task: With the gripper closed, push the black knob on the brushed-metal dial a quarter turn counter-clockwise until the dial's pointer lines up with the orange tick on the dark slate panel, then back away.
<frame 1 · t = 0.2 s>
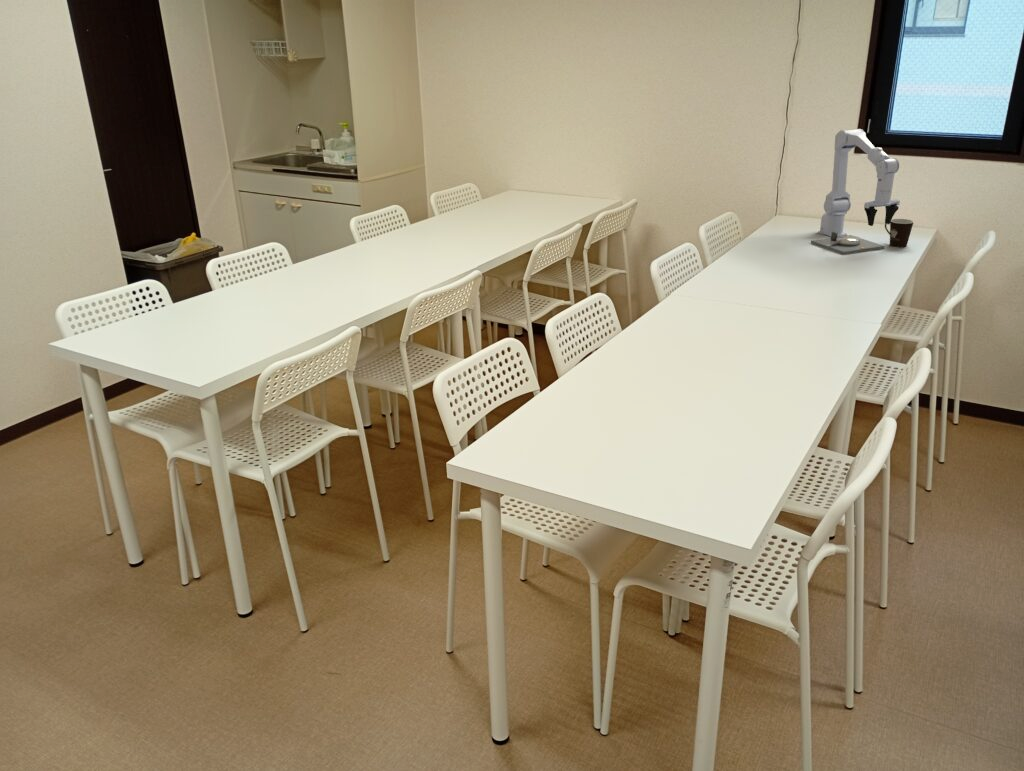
hand: (878, 224, 331), 10 cm above the table, fingers open, 7 cm apart
panel: (846, 246, 341), on the table
dial: (844, 237, 339), point 4 cm above the table, hinge at 0.0°
coffee mug: (896, 244, 340), on the table
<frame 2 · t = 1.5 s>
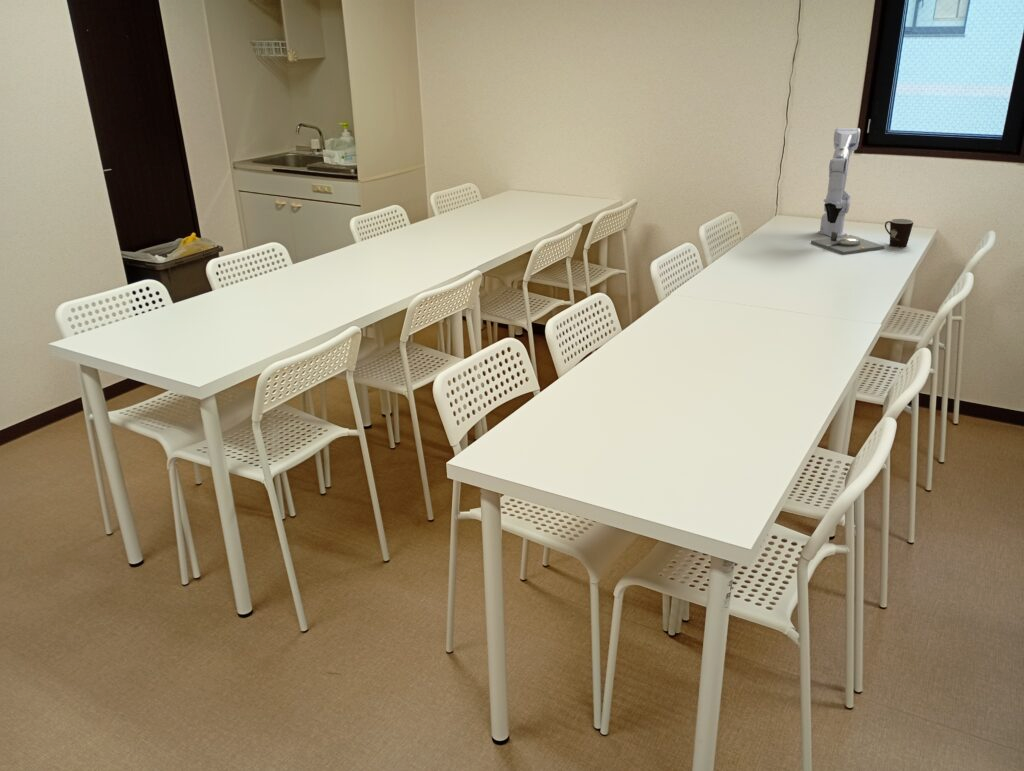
hand: (831, 222, 340), 9 cm above the table, fingers closed
nothing on the table moved.
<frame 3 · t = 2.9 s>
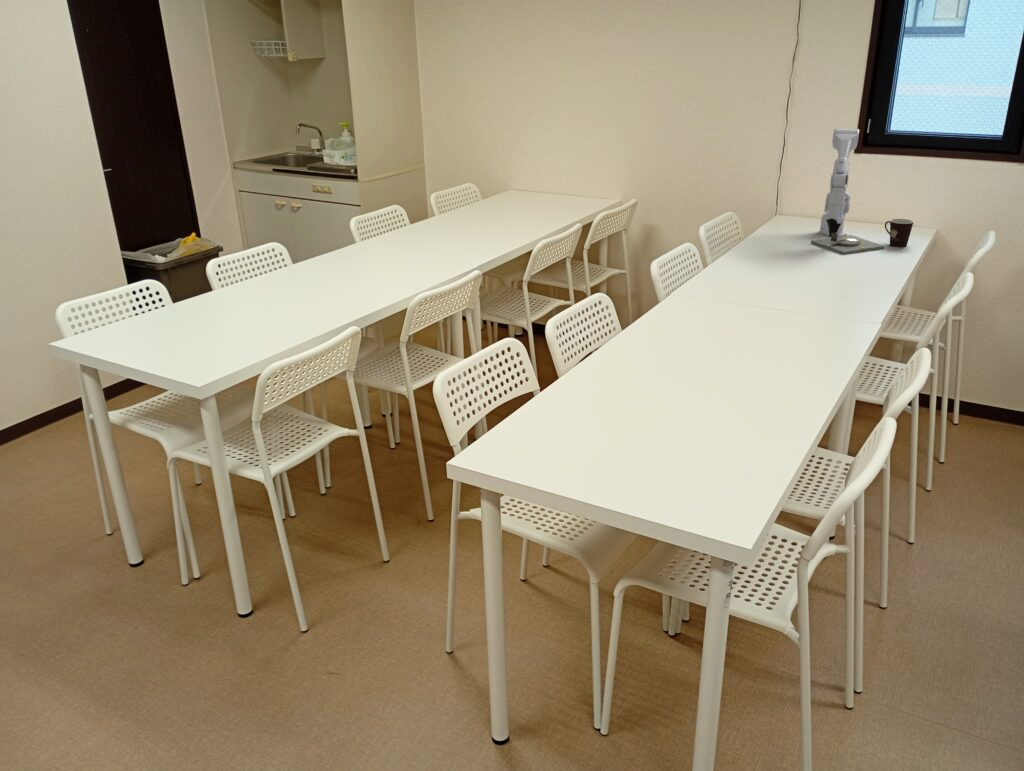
hand: (832, 237, 339), 4 cm above the table, fingers closed, pressing on dial
dial: (844, 237, 339), point 4 cm above the table, hinge at 0.6°, touching gripper
everything else where it was.
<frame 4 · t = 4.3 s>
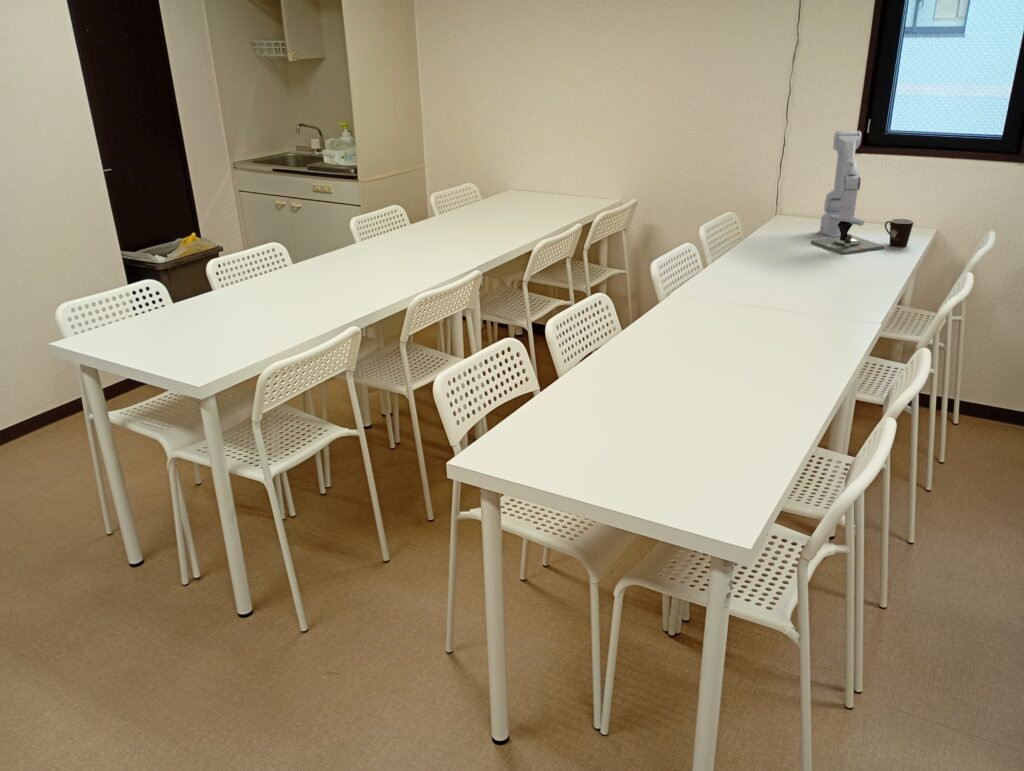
hand: (843, 240, 334), 4 cm above the table, fingers closed, pressing on dial
dial: (848, 237, 338), point 4 cm above the table, hinge at 49.5°, touching gripper
everything else where it was.
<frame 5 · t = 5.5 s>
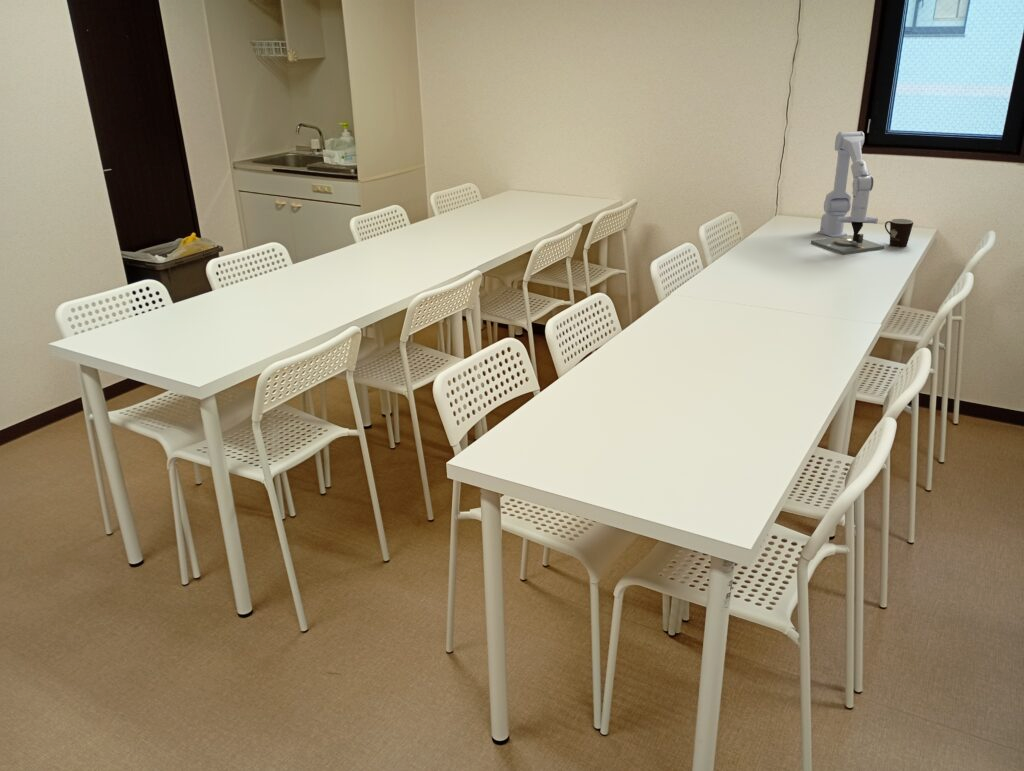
hand: (854, 240, 333), 4 cm above the table, fingers closed, pressing on dial
dial: (850, 237, 338), point 4 cm above the table, hinge at 87.8°, touching gripper
everything else where it was.
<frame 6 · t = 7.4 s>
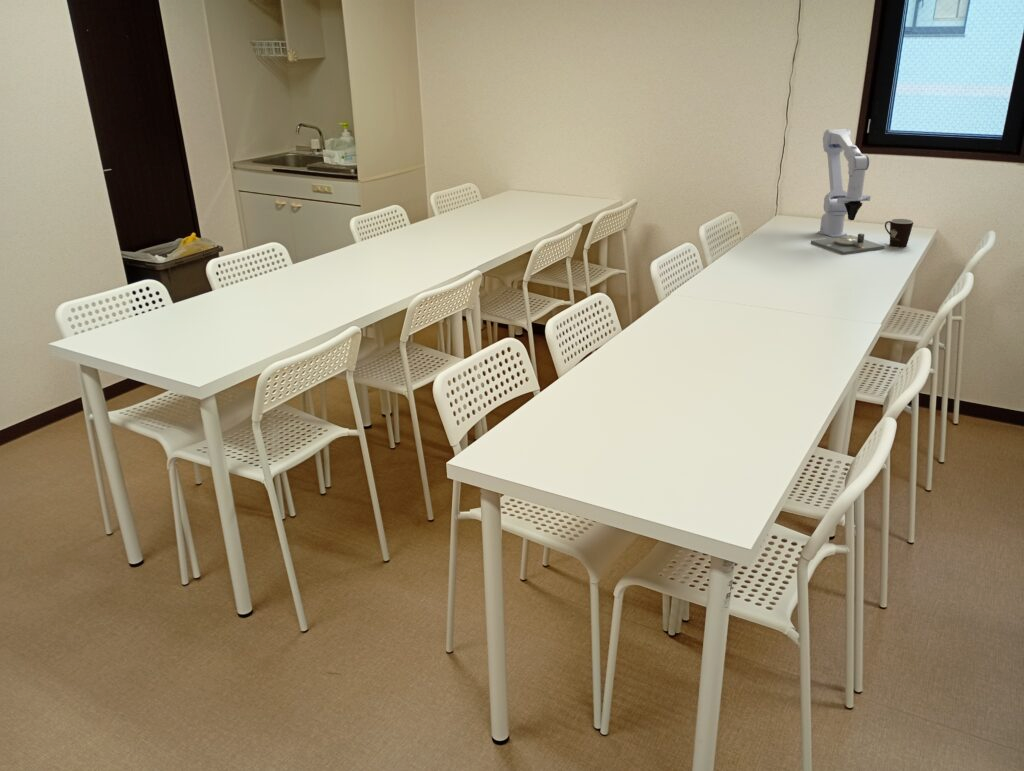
hand: (851, 219, 341), 10 cm above the table, fingers closed
dial: (850, 237, 338), point 4 cm above the table, hinge at 91.5°
everything else where it was.
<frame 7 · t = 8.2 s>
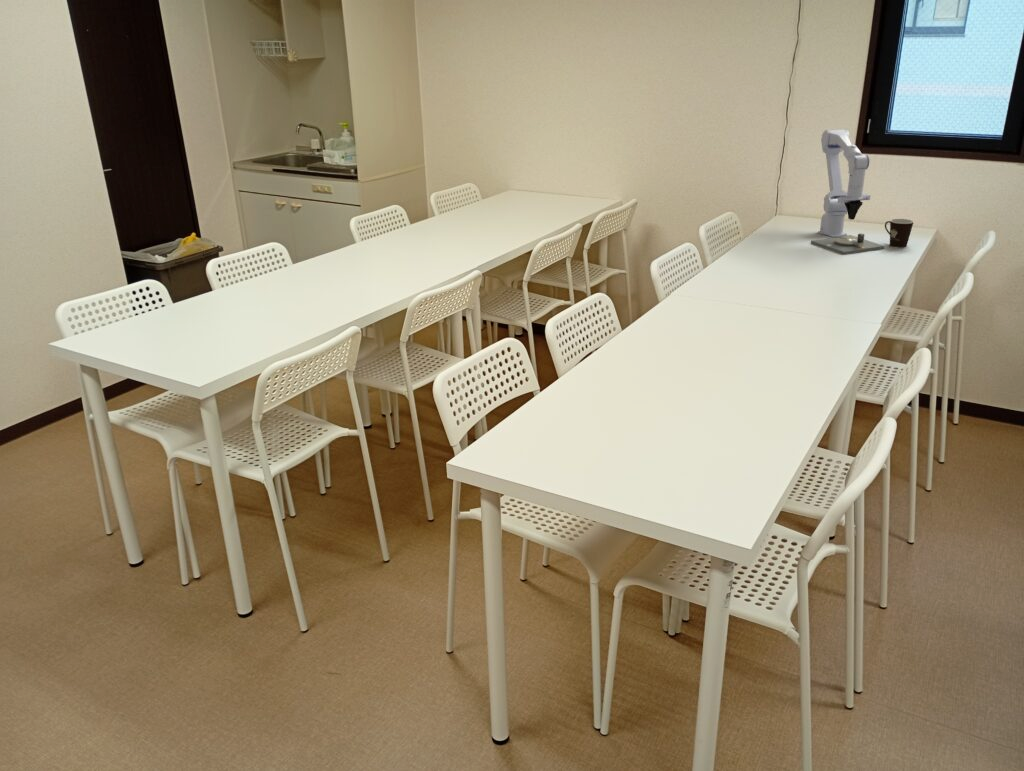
hand: (851, 219, 341), 10 cm above the table, fingers closed
nothing on the table moved.
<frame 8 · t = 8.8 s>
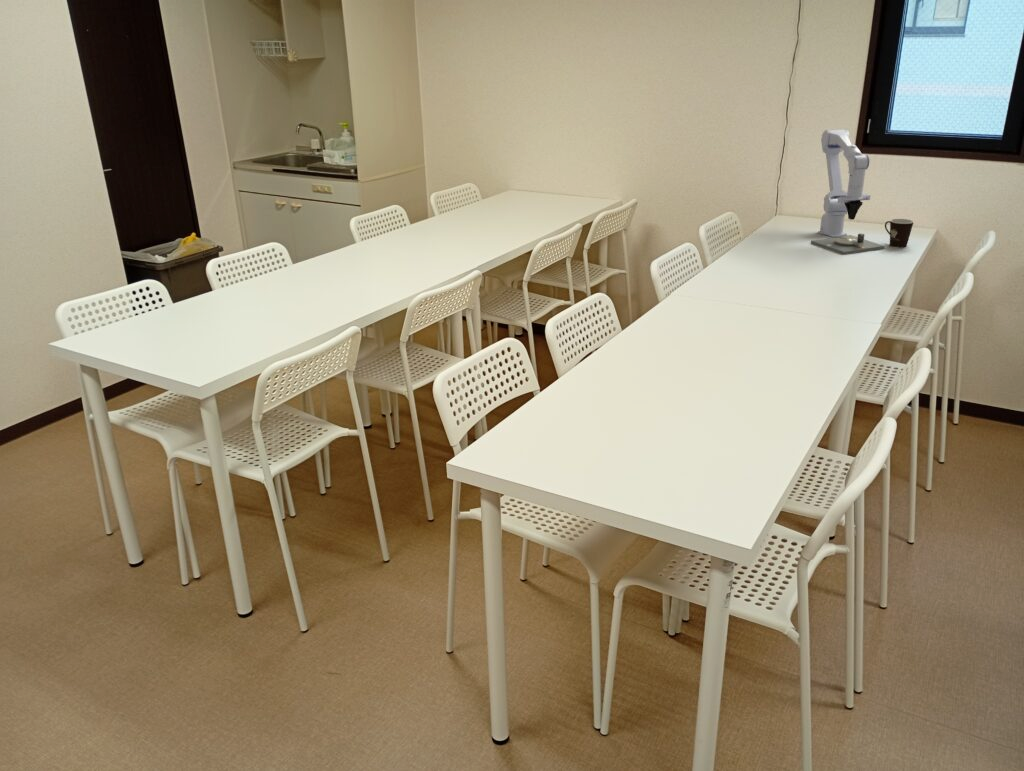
hand: (851, 219, 341), 10 cm above the table, fingers closed
nothing on the table moved.
at the end: dial at +92° (first picture: +0°); dial touching nothing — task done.
